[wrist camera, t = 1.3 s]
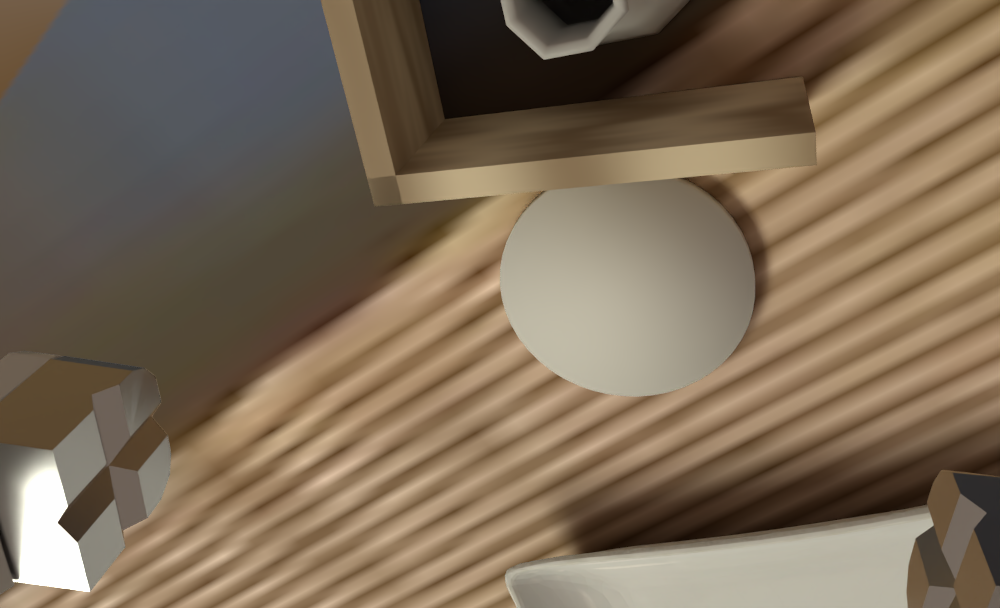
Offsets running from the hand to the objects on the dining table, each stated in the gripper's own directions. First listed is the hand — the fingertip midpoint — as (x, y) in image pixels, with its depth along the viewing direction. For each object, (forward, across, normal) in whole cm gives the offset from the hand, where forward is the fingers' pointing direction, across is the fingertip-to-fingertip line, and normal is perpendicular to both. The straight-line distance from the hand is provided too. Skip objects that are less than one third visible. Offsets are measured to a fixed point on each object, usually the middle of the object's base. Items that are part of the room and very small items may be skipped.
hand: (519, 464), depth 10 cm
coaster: (+26, 0, +11) cm, 28 cm away
